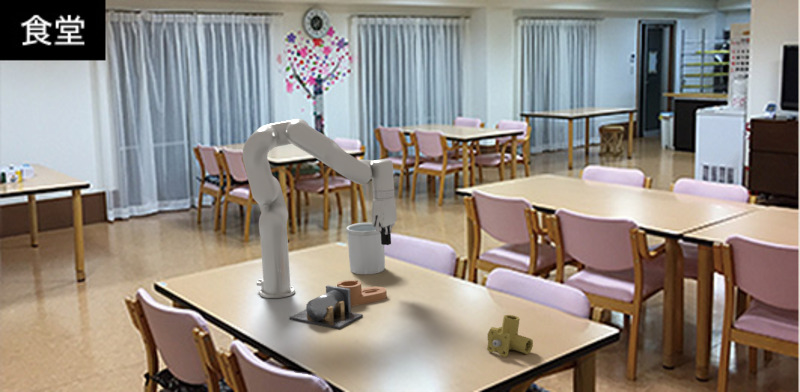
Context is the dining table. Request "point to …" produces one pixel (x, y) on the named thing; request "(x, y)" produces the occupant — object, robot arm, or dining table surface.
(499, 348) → the ball valve
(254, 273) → the dining table surface
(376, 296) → the bracket
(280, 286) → the robot arm
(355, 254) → the utensil holder
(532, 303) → the dining table surface
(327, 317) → the pipe stub
